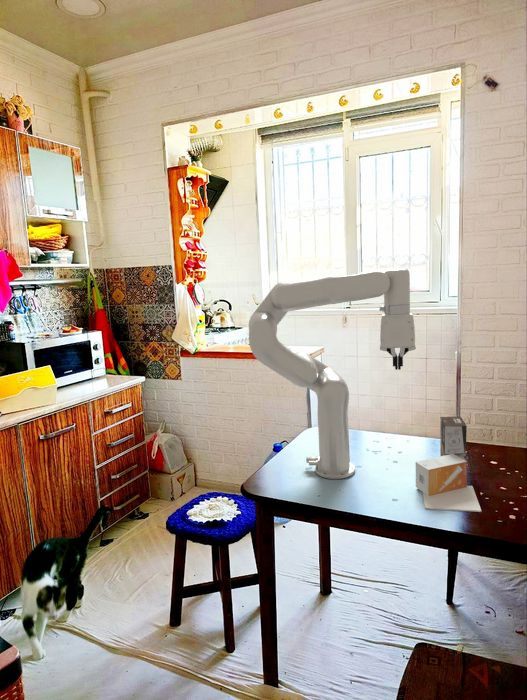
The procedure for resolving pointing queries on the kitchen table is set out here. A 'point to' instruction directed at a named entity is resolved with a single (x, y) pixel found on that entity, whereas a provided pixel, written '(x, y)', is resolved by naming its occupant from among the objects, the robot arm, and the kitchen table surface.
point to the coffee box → (453, 436)
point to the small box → (441, 474)
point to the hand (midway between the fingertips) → (397, 368)
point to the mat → (453, 500)
